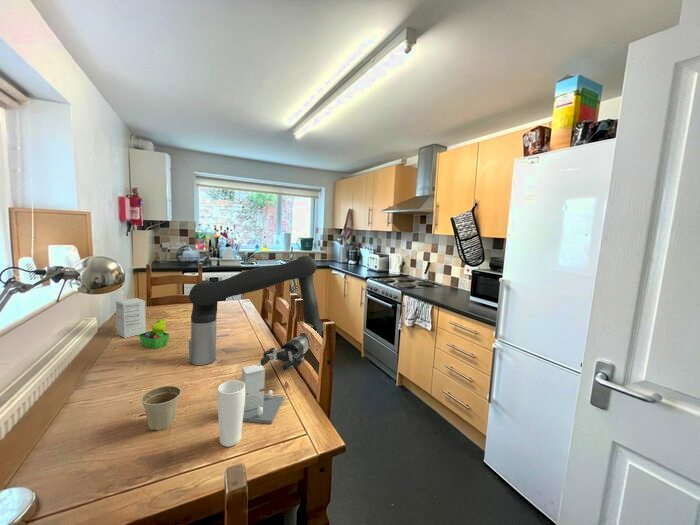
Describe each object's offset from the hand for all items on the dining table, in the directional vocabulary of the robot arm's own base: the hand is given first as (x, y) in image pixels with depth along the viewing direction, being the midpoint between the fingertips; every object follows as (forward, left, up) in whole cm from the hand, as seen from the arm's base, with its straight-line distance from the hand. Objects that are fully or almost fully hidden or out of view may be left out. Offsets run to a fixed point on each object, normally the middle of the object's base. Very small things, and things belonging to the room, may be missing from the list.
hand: (272, 365), depth 98 cm
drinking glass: (-3, -24, -10) cm, 26 cm away
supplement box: (-84, +39, -10) cm, 93 cm away
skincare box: (-3, -10, -9) cm, 13 cm away
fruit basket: (-64, +29, -10) cm, 71 cm away
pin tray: (-3, -10, -9) cm, 14 cm away
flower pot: (-25, -20, -10) cm, 33 cm away
